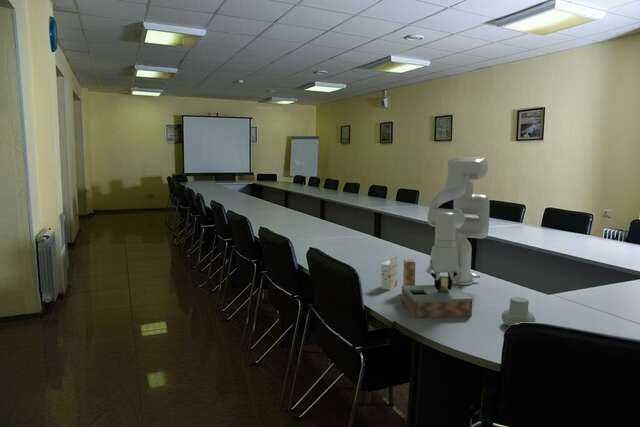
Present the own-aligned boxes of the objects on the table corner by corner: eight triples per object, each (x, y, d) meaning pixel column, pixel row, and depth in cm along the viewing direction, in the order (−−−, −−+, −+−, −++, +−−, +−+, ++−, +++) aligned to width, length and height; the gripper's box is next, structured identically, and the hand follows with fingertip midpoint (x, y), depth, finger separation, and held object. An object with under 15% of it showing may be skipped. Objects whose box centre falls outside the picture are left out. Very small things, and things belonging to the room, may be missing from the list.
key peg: (411, 292, 190) (412, 259, 189) (414, 295, 187) (415, 261, 185) (402, 292, 190) (403, 259, 188) (405, 295, 186) (406, 262, 184)
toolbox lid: (453, 286, 179) (454, 270, 178) (472, 300, 161) (473, 282, 160) (401, 288, 177) (402, 271, 176) (415, 302, 159) (416, 284, 158)
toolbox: (452, 300, 180) (453, 286, 179) (471, 316, 162) (472, 300, 161) (401, 302, 178) (401, 288, 177) (415, 318, 160) (415, 302, 159)
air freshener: (501, 328, 150) (503, 301, 149) (500, 320, 158) (502, 294, 157) (536, 333, 147) (538, 305, 145) (533, 324, 154) (535, 297, 153)
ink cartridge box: (387, 283, 204) (388, 253, 202) (397, 285, 201) (398, 254, 199) (380, 288, 196) (380, 257, 194) (390, 290, 194) (391, 258, 192)
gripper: (461, 241, 171) (459, 285, 174) (420, 241, 170) (419, 286, 172) (469, 244, 164) (467, 291, 166) (427, 245, 162) (425, 292, 165)
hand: (443, 288), depth 169 cm, fingers closed on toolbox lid, 4 cm apart
